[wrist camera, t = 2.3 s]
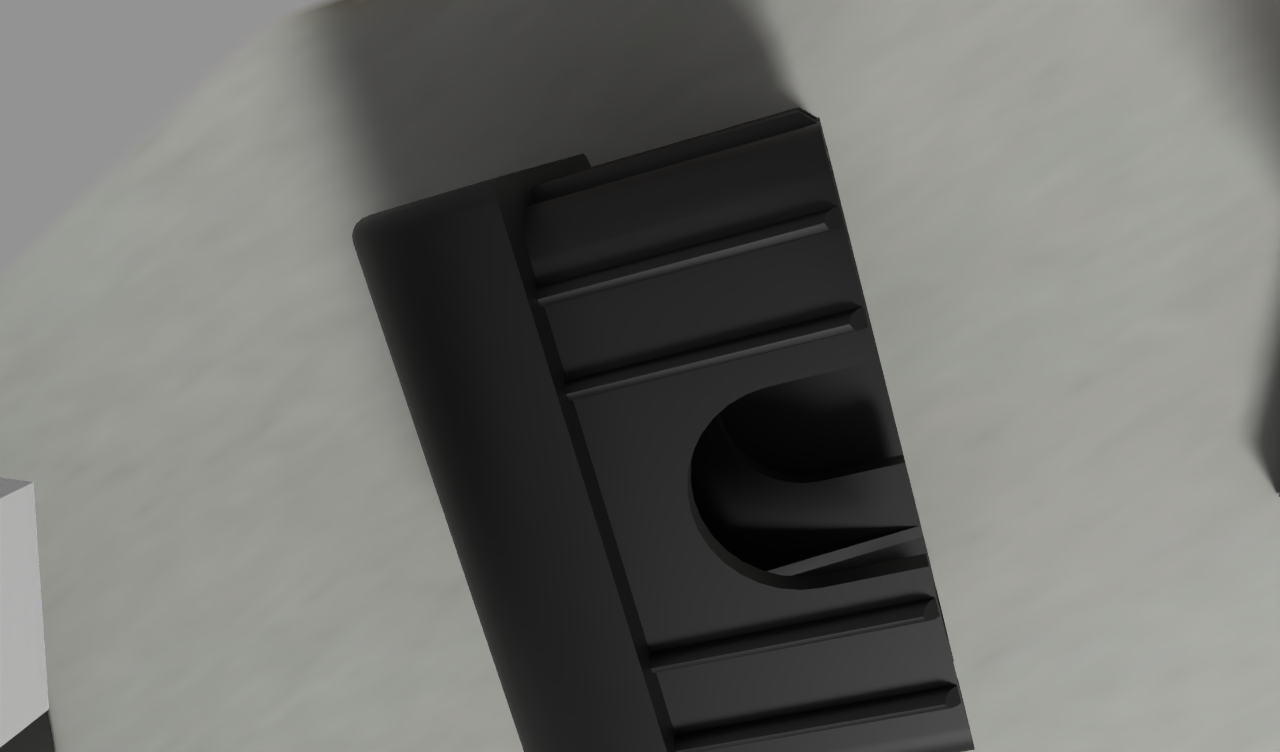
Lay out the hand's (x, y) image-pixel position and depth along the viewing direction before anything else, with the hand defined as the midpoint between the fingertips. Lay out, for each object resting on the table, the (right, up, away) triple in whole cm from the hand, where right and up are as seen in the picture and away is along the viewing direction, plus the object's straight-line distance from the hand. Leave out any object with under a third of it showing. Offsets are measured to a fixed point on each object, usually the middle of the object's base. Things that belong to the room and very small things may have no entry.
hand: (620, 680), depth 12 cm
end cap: (+1, +3, +10) cm, 11 cm away
